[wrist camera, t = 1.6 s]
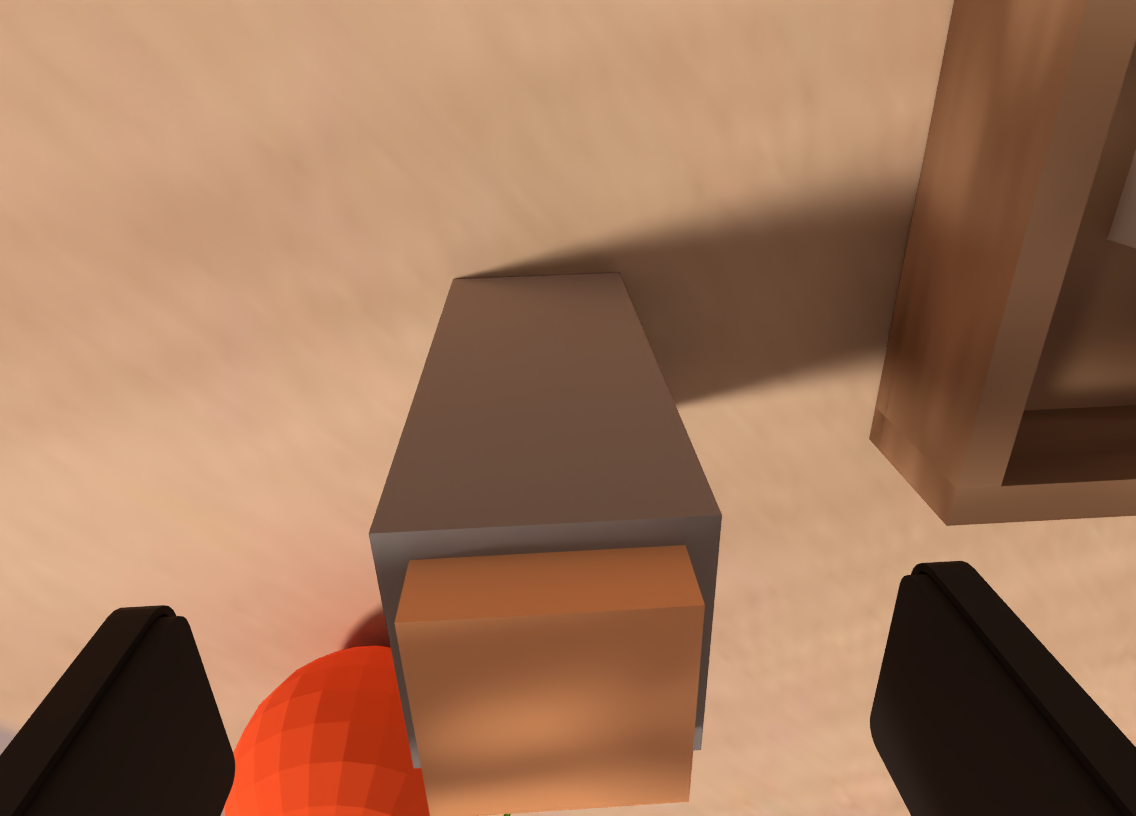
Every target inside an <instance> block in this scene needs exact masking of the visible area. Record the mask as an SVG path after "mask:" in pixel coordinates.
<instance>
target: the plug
mask: <svg viewBox="0 0 1136 816" xmlns="http://www.w3.org/2000/svg"><path fill="white" fill-rule="evenodd" d="M721 520H722V514H721V512H720V509H719V507H718V505H717V502H716V500H715V497H714V495H713V493H712V490H711V488H710V486H709V483H708V481H707V479H706V476H705V474H704V472H703V469H702V467H701V464H700V462H699V460H698V457H697V455H696V453H695V450H694V448H693V446H692V443H691V441H690V438H689V436H688V434H687V431H686V429H685V427H684V424H683V422H682V420H681V417H680V415H679V413H678V410H677V408H676V405H675V403H674V401H673V398H672V396H671V394H670V391H669V389H668V387H667V384H666V382H665V379H664V377H663V375H662V372H661V370H660V368H659V365H658V363H657V361H656V358H655V356H654V354H653V351H652V349H651V346H650V344H649V342H648V339H647V337H646V335H645V332H644V330H643V328H642V325H641V323H640V320H639V318H638V316H637V313H636V311H635V309H634V306H633V304H632V302H631V299H630V297H629V295H628V292H627V290H626V287H625V285H624V283H623V280H622V278H621V276H620V273H619V272H617V273H592V274H568V275H543V276H518V277H494V278H469V279H453V281H452V284H451V287H450V290H449V293H448V296H447V299H446V302H445V305H444V308H443V311H442V314H441V317H440V320H439V323H438V326H437V329H436V332H435V335H434V338H433V341H432V344H431V347H430V350H429V353H428V356H427V359H426V362H425V366H424V369H423V372H422V375H421V378H420V381H419V384H418V387H417V390H416V393H415V396H414V399H413V402H412V405H411V408H410V411H409V414H408V417H407V420H406V423H405V426H404V429H403V432H402V435H401V438H400V441H399V444H398V447H397V450H396V453H395V456H394V459H393V462H392V465H391V468H390V471H389V474H388V477H387V480H386V483H385V486H384V489H383V492H382V495H381V498H380V501H379V504H378V507H377V510H376V513H375V516H374V519H373V522H372V525H371V528H370V531H369V538H370V543H371V548H372V553H373V558H374V564H375V569H376V574H377V579H378V584H379V590H380V595H381V600H382V605H383V611H384V616H385V621H386V626H387V631H388V637H389V642H390V647H391V652H392V657H393V663H394V668H395V673H396V678H397V683H398V689H399V694H400V699H401V704H402V710H403V715H404V720H405V725H406V730H407V736H408V741H409V746H410V751H411V756H412V762H413V767H414V768H421V769H422V775H423V780H424V786H425V791H426V797H427V802H428V807H429V813H430V816H482V815H496V814H511V813H526V812H541V811H556V810H571V809H586V808H601V807H616V806H631V805H646V804H660V803H675V802H689V794H690V782H691V770H692V757H693V750H701V744H702V733H703V722H704V711H705V700H706V688H707V677H708V666H709V655H710V643H711V632H712V621H713V610H714V598H715V587H716V576H717V565H718V554H719V542H720V531H721Z"/></svg>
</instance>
